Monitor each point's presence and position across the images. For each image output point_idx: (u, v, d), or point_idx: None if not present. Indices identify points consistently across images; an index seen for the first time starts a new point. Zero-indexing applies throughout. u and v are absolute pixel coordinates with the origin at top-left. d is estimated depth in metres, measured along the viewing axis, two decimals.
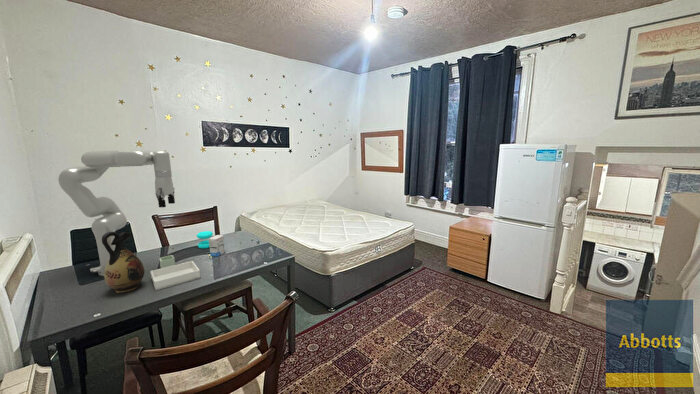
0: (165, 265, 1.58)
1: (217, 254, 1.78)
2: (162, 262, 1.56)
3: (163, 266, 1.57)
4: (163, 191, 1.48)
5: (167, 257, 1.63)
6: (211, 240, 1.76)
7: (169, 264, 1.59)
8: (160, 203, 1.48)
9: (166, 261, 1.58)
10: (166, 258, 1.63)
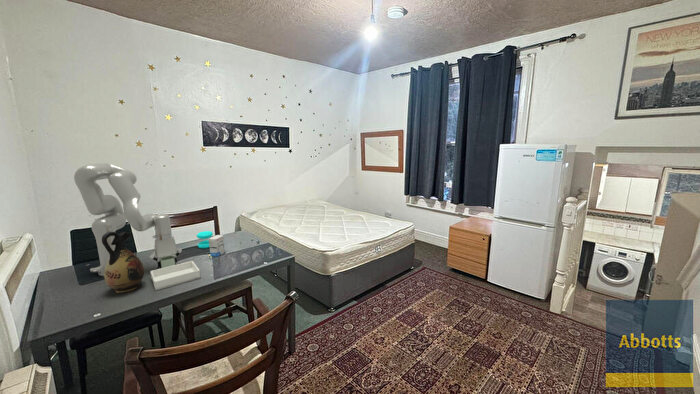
0: (165, 265, 1.58)
1: (217, 254, 1.78)
2: (162, 262, 1.56)
3: (163, 266, 1.57)
4: None
5: (167, 257, 1.63)
6: (211, 240, 1.76)
7: (169, 264, 1.59)
8: (176, 260, 1.64)
9: (166, 261, 1.58)
10: (166, 258, 1.63)
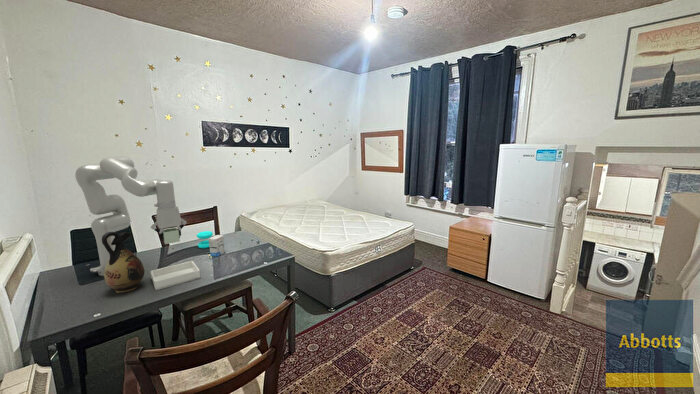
0: (168, 237, 1.41)
1: (217, 254, 1.78)
2: (165, 234, 1.40)
3: (166, 238, 1.40)
4: None
5: (171, 229, 1.46)
6: (211, 240, 1.76)
7: (173, 236, 1.42)
8: (180, 232, 1.47)
9: (169, 233, 1.41)
10: (169, 230, 1.46)
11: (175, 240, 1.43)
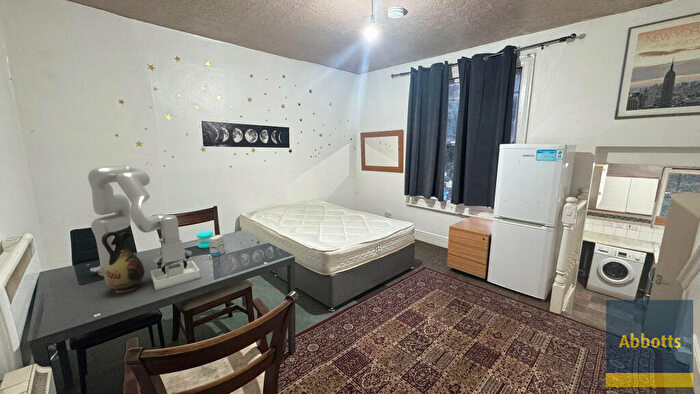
0: (173, 274, 1.45)
1: (217, 254, 1.78)
2: (169, 271, 1.44)
3: (171, 275, 1.44)
4: None
5: (175, 265, 1.50)
6: (211, 240, 1.76)
7: (177, 273, 1.46)
8: (186, 263, 1.51)
9: (174, 270, 1.45)
10: (173, 266, 1.50)
11: None
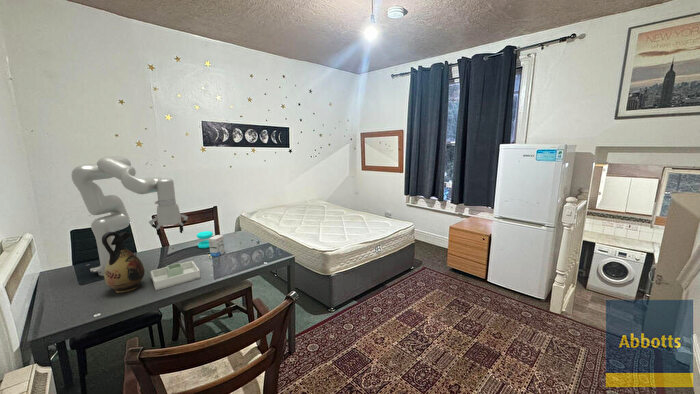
0: (173, 274, 1.45)
1: (217, 254, 1.78)
2: (169, 271, 1.44)
3: (171, 275, 1.44)
4: None
5: (175, 265, 1.50)
6: (211, 240, 1.76)
7: (177, 273, 1.46)
8: None
9: (174, 270, 1.45)
10: (173, 266, 1.50)
11: None
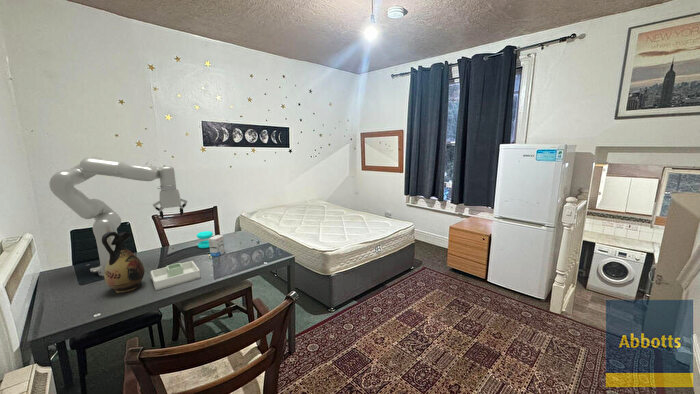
0: (173, 274, 1.45)
1: (217, 254, 1.78)
2: (169, 271, 1.44)
3: (171, 275, 1.44)
4: None
5: (175, 265, 1.50)
6: (211, 240, 1.76)
7: (177, 273, 1.46)
8: None
9: (174, 270, 1.45)
10: (173, 266, 1.50)
11: None
